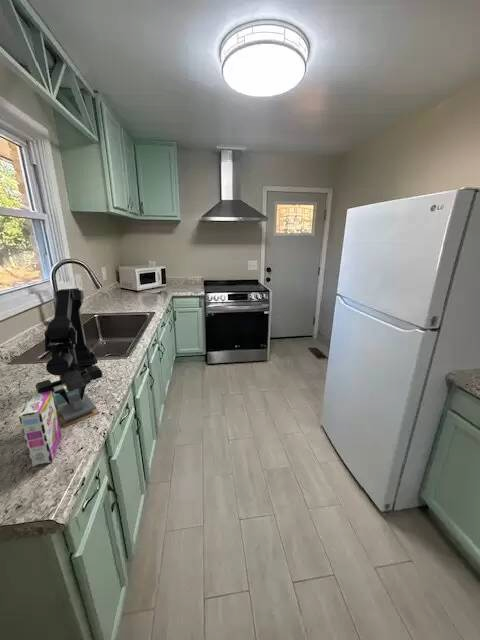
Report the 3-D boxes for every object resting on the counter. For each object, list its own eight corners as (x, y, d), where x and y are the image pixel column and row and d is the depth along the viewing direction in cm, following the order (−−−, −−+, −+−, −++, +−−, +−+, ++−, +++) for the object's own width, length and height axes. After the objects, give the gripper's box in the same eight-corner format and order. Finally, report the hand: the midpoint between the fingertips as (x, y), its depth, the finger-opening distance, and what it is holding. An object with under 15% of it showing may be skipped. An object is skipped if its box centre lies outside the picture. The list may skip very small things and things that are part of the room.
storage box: (52, 397, 103) (49, 384, 102) (78, 388, 109) (75, 376, 108) (58, 408, 97) (54, 395, 95) (85, 398, 103) (83, 385, 101)
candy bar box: (53, 462, 74) (40, 412, 69) (32, 467, 72) (16, 416, 67) (63, 435, 84) (52, 389, 79) (44, 439, 82) (31, 393, 77)
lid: (58, 410, 95) (55, 396, 93) (87, 399, 101) (84, 386, 100) (65, 424, 88) (62, 410, 86) (96, 411, 94) (93, 398, 93)
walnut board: (55, 411, 95) (55, 410, 95) (89, 398, 103) (89, 397, 102) (63, 427, 87) (63, 426, 87) (99, 412, 94) (99, 411, 94)
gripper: (36, 380, 77) (48, 425, 82) (104, 360, 89) (111, 400, 94) (30, 367, 85) (41, 409, 89) (93, 350, 97) (100, 387, 102)
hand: (75, 401), depth 93 cm, fingers open, 4 cm apart
